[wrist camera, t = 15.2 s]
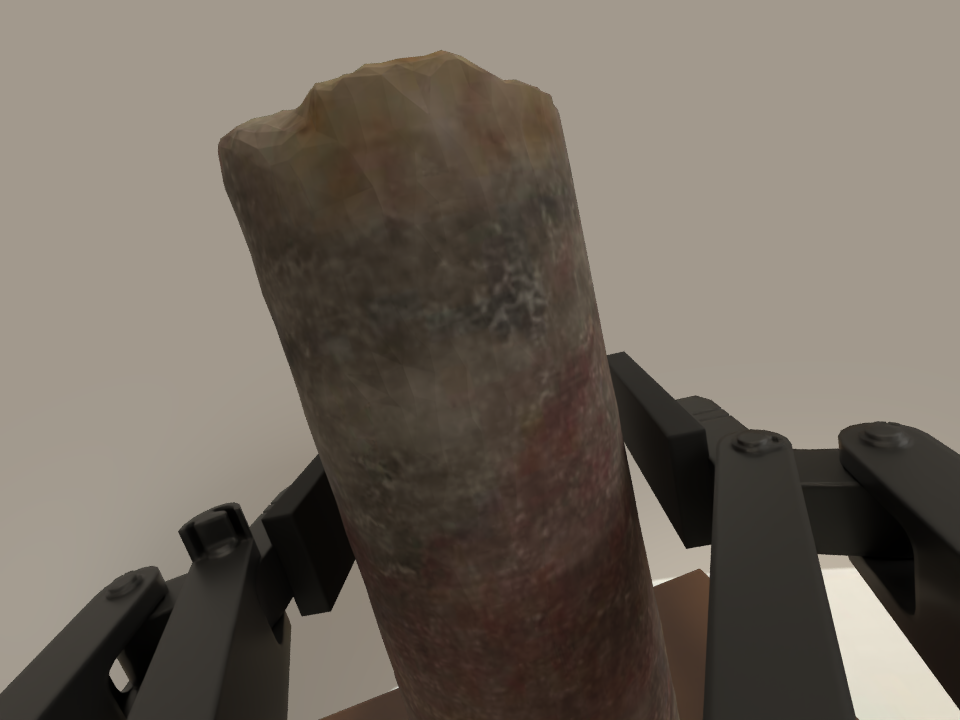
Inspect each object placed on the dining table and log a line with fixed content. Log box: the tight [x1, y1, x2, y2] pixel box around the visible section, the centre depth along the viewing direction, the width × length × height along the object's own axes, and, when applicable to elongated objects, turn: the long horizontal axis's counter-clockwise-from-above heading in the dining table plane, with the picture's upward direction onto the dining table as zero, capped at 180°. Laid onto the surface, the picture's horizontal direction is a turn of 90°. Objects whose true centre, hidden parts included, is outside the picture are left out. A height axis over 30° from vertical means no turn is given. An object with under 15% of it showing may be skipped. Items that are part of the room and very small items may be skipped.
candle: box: [218, 50, 680, 720], centre depth 12 cm, size 8×7×20 cm
